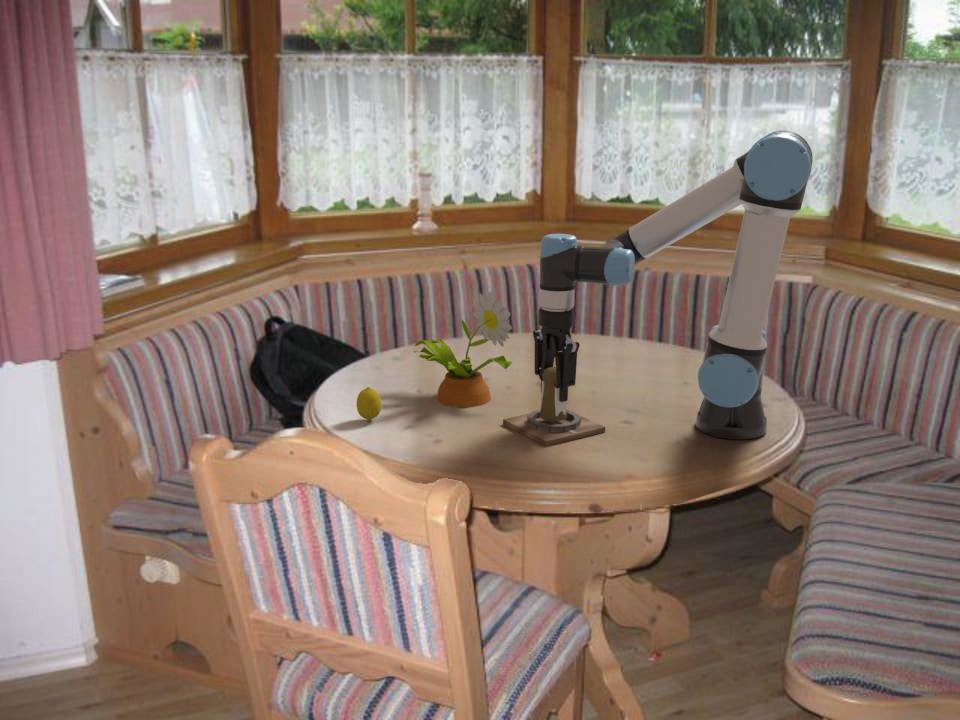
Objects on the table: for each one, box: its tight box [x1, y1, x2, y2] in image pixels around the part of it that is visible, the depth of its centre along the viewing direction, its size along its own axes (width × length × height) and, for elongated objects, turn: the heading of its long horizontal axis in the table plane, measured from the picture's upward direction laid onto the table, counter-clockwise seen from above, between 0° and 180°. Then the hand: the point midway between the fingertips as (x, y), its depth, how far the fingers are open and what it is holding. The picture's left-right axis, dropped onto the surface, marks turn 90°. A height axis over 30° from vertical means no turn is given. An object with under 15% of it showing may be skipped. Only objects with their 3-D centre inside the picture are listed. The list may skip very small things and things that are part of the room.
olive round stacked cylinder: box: [540, 366, 567, 421], centre depth 214 cm, size 6×6×11 cm
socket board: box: [502, 408, 606, 447], centre depth 216 cm, size 16×16×2 cm
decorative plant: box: [413, 291, 513, 408], centre depth 232 cm, size 27×24×25 cm
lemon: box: [356, 386, 382, 422], centre depth 219 cm, size 6×6×8 cm
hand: (553, 411), depth 215 cm, fingers closed on olive round stacked cylinder, 4 cm apart
